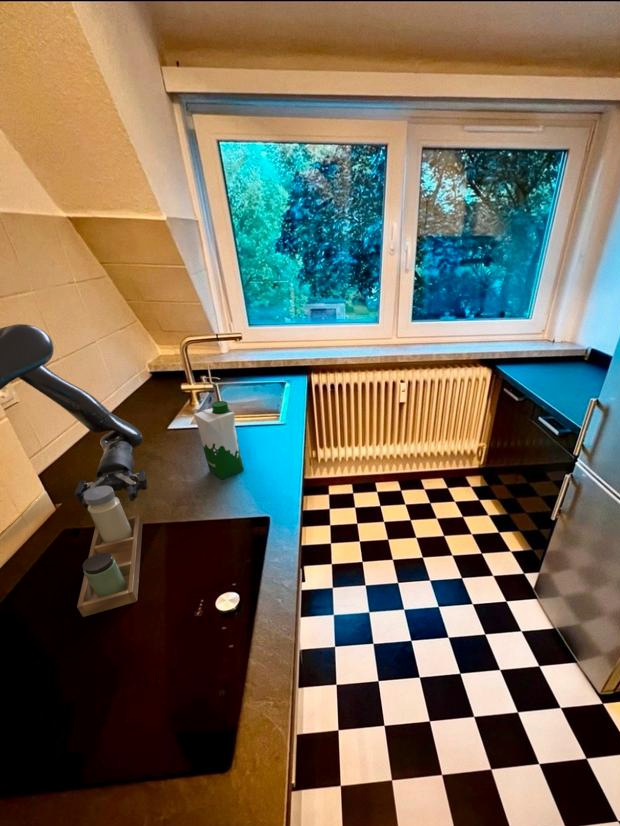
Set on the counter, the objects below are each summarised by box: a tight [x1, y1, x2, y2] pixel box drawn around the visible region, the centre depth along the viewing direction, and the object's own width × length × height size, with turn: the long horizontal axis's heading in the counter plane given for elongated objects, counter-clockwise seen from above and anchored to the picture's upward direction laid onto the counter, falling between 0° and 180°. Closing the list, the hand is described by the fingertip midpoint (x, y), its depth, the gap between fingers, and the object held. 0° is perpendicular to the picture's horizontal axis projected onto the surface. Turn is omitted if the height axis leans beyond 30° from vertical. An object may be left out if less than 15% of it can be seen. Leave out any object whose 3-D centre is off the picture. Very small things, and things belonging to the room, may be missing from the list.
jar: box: [84, 486, 134, 544], centre depth 83 cm, size 6×6×13 cm
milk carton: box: [193, 400, 245, 480], centre depth 107 cm, size 9×9×20 cm
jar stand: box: [76, 514, 143, 618], centre depth 80 cm, size 9×25×3 cm, turn 23°
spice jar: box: [82, 553, 127, 598], centre depth 72 cm, size 5×5×8 cm
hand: (109, 502), depth 86 cm, fingers open, 8 cm apart
